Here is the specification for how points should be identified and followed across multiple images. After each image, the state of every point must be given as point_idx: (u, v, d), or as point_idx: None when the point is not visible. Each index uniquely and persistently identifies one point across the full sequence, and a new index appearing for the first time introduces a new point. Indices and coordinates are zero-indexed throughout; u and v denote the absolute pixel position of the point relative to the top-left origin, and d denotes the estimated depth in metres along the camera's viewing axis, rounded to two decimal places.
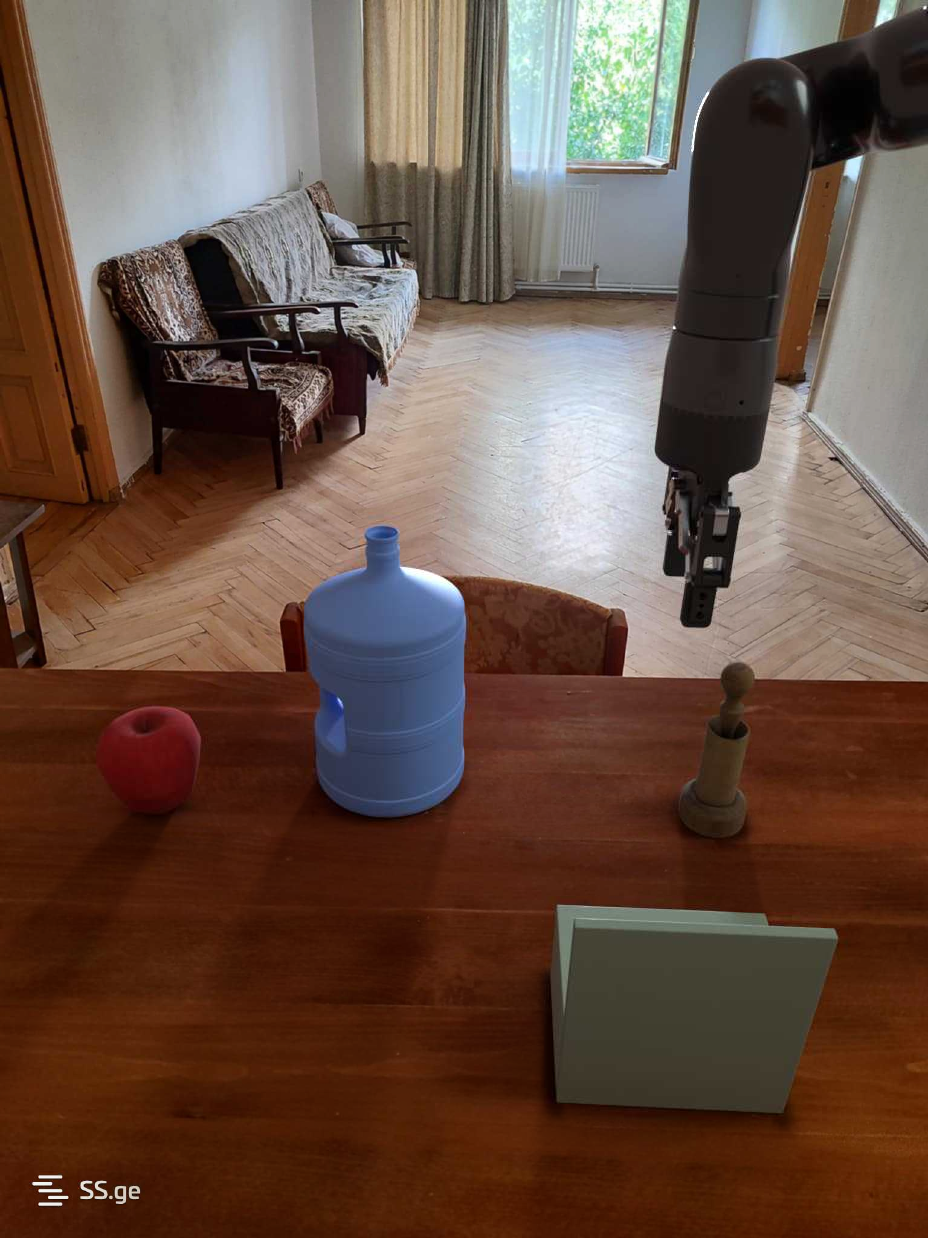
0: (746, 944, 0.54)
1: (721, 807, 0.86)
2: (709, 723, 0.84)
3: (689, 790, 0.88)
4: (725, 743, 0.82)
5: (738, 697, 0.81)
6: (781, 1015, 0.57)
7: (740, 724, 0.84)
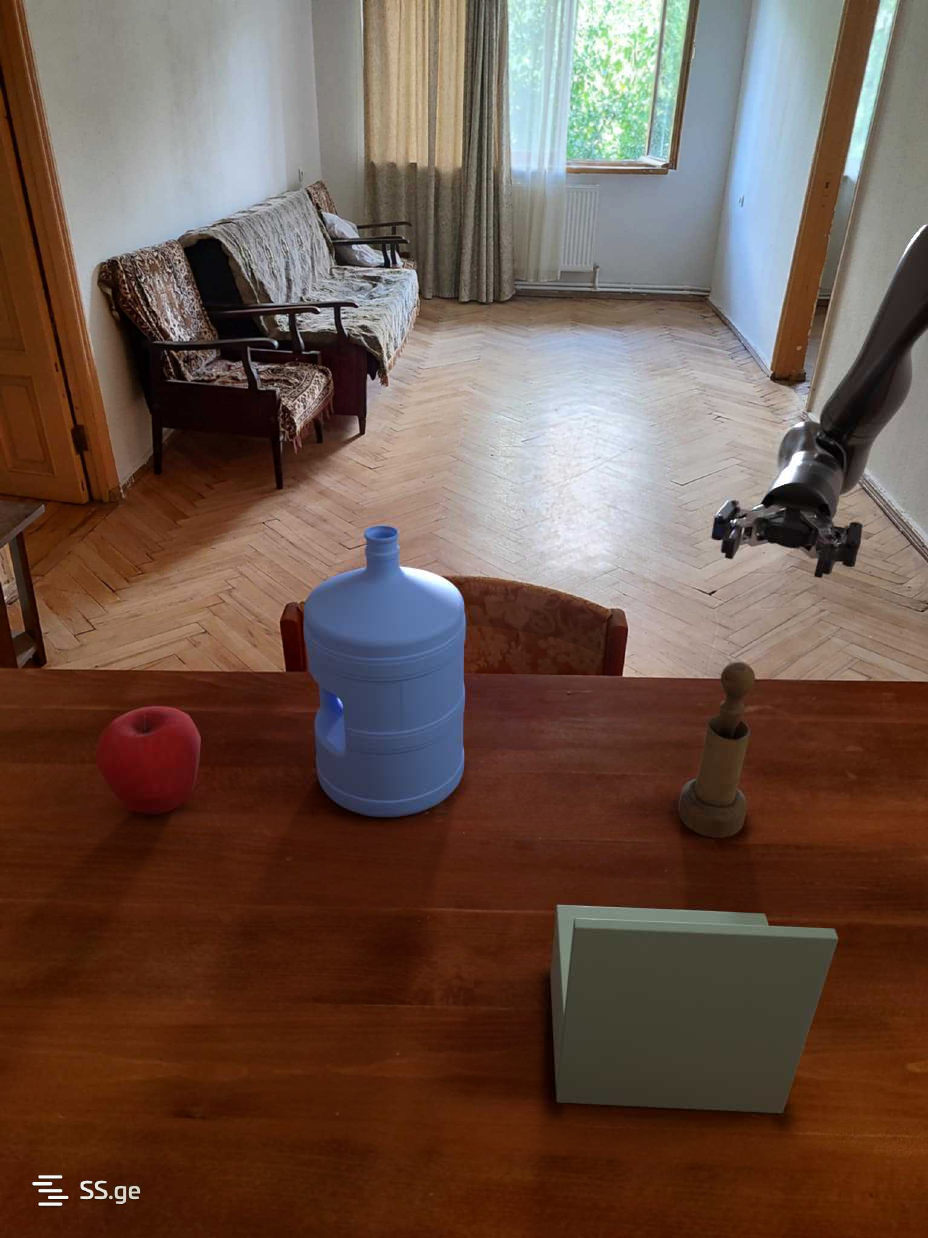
0: (746, 944, 0.54)
1: (722, 807, 0.86)
2: (709, 723, 0.84)
3: (689, 790, 0.88)
4: (725, 743, 0.82)
5: (738, 697, 0.81)
6: (781, 1015, 0.57)
7: (740, 724, 0.84)
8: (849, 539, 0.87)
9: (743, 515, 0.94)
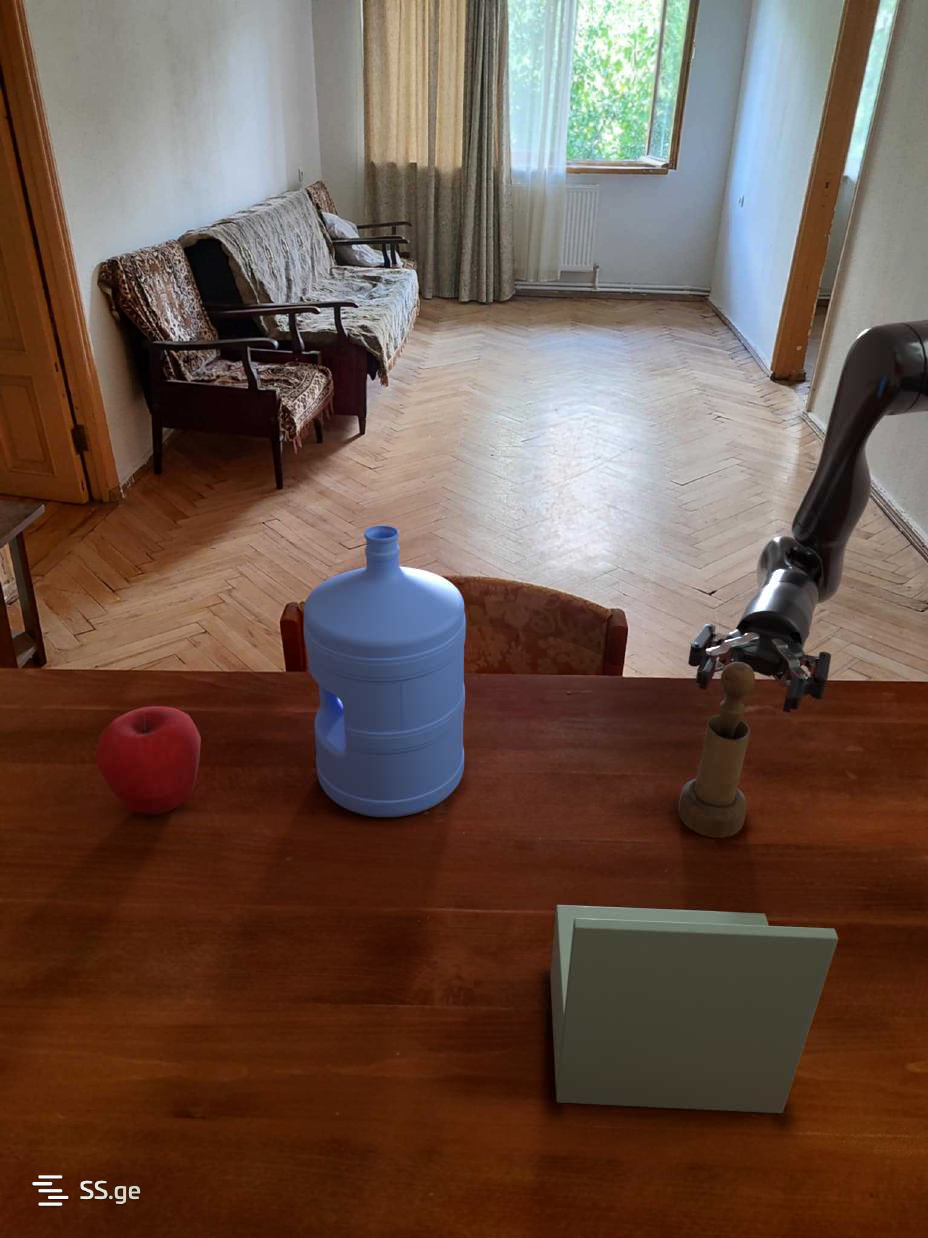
0: (746, 944, 0.54)
1: (722, 807, 0.86)
2: (709, 723, 0.84)
3: (689, 790, 0.88)
4: (725, 743, 0.82)
5: (738, 697, 0.81)
6: (781, 1015, 0.57)
7: (740, 724, 0.84)
8: (817, 673, 0.92)
9: (719, 640, 0.99)
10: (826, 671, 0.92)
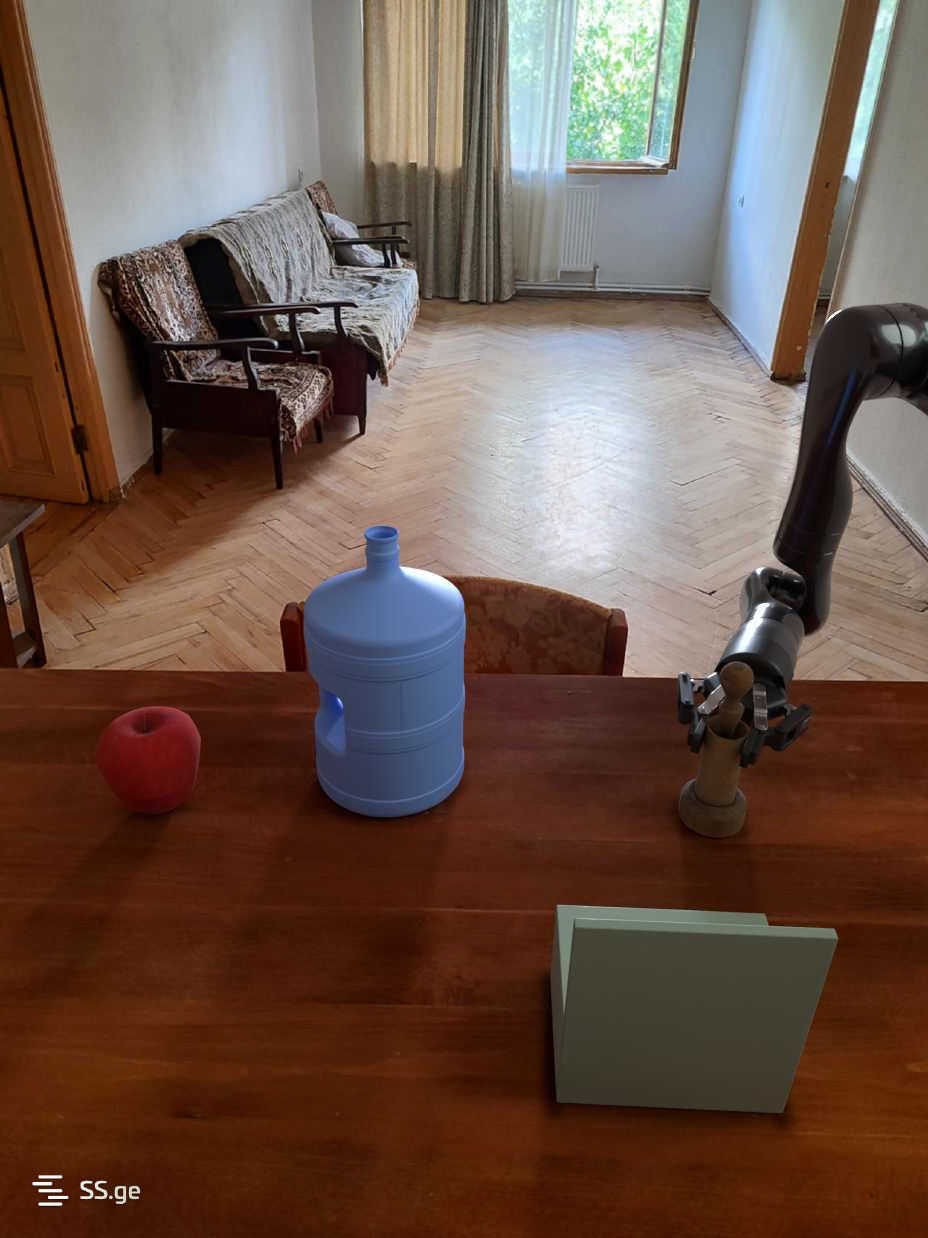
0: (746, 944, 0.54)
1: (721, 807, 0.86)
2: (708, 723, 0.84)
3: (689, 790, 0.88)
4: (724, 743, 0.82)
5: (737, 697, 0.81)
6: (781, 1015, 0.57)
7: (739, 724, 0.84)
8: (780, 723, 0.84)
9: (698, 688, 0.91)
10: (792, 724, 0.84)
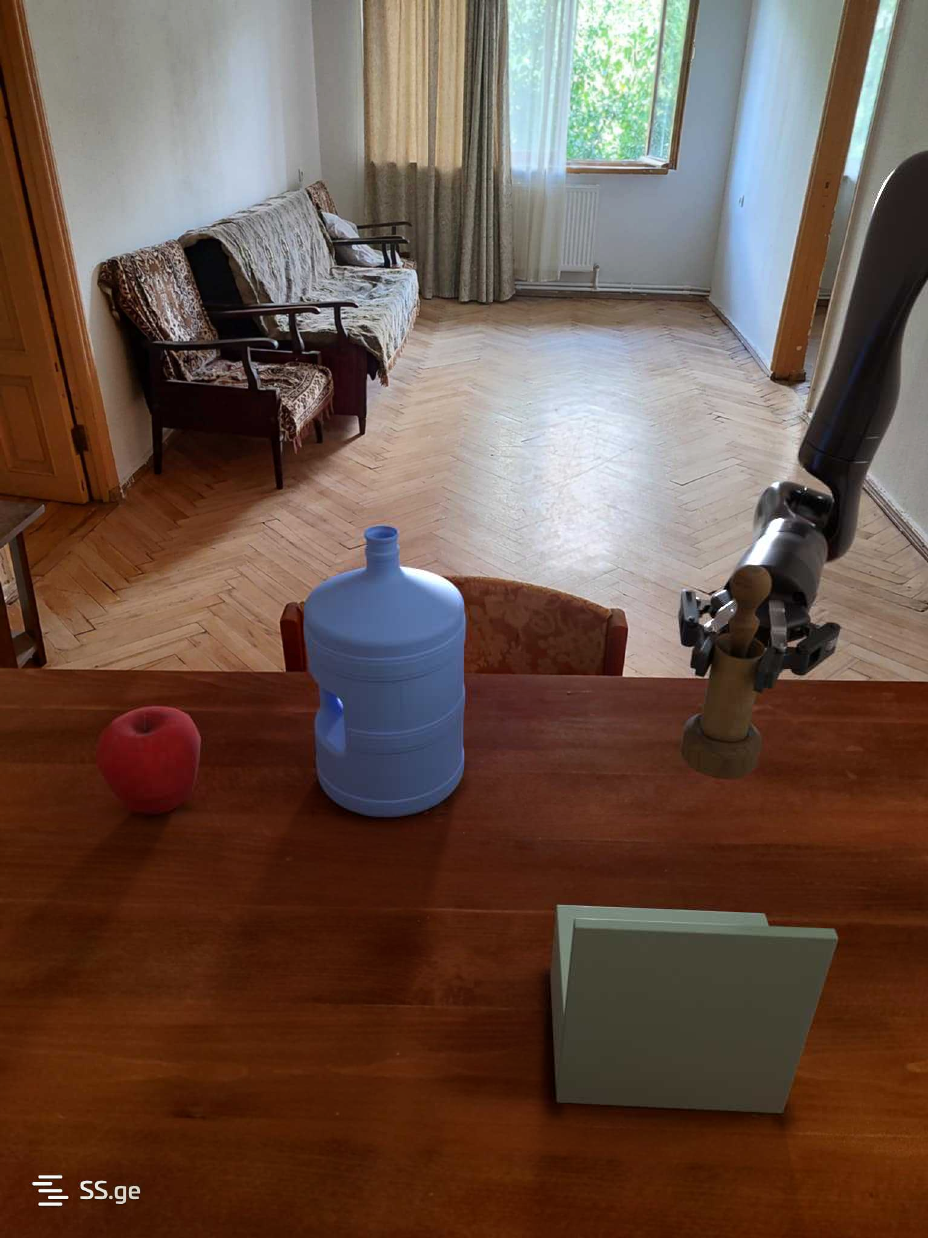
0: (746, 944, 0.54)
1: (732, 743, 0.73)
2: (717, 641, 0.71)
3: (693, 724, 0.75)
4: (736, 663, 0.69)
5: (751, 606, 0.67)
6: (781, 1015, 0.57)
7: (754, 643, 0.71)
8: (802, 641, 0.71)
9: (704, 608, 0.77)
10: (816, 642, 0.71)
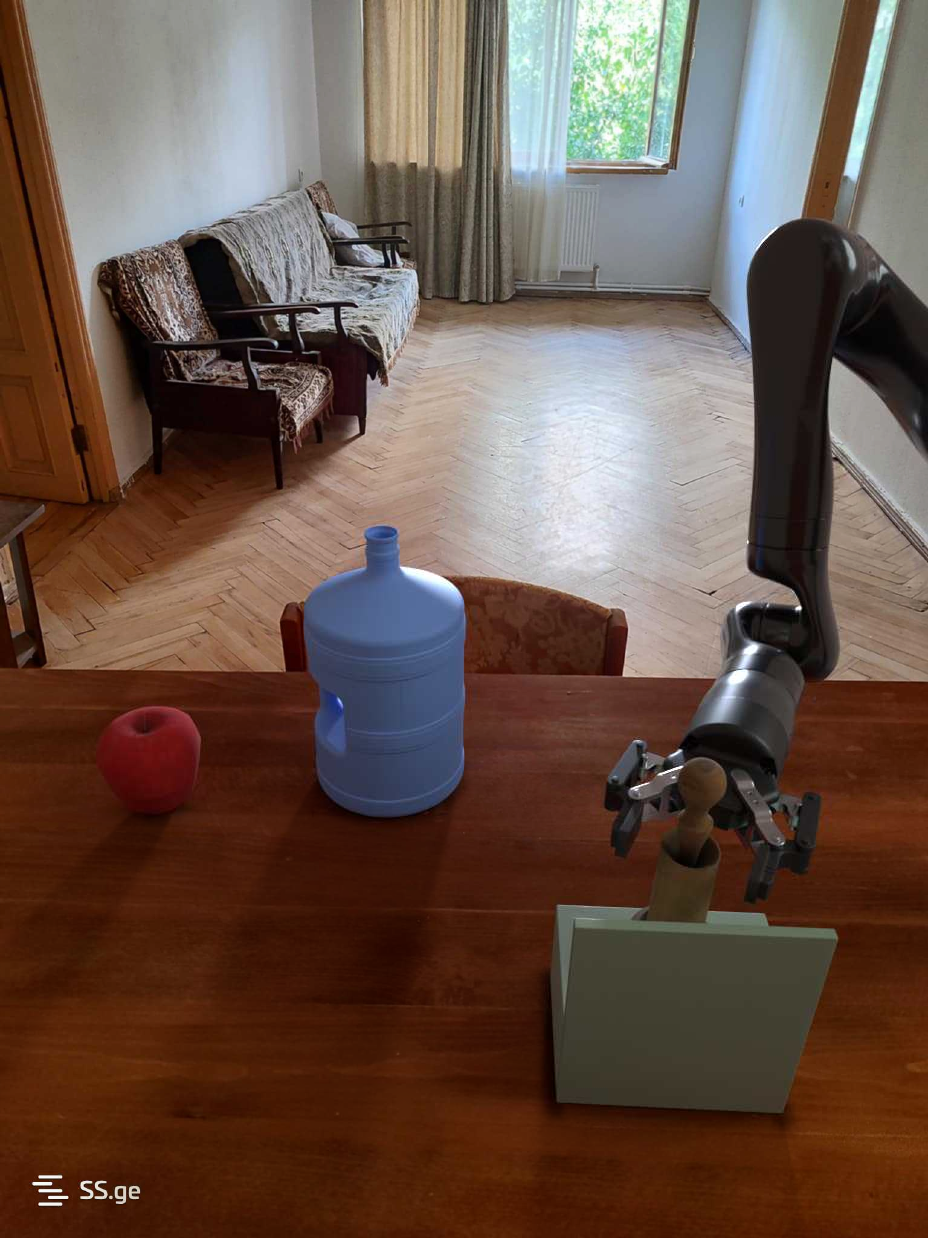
0: (746, 944, 0.54)
1: None
2: (663, 840, 0.59)
3: None
4: (685, 873, 0.57)
5: (703, 809, 0.56)
6: (781, 1015, 0.57)
7: (708, 841, 0.59)
8: (799, 834, 0.58)
9: (653, 767, 0.66)
10: (813, 831, 0.58)
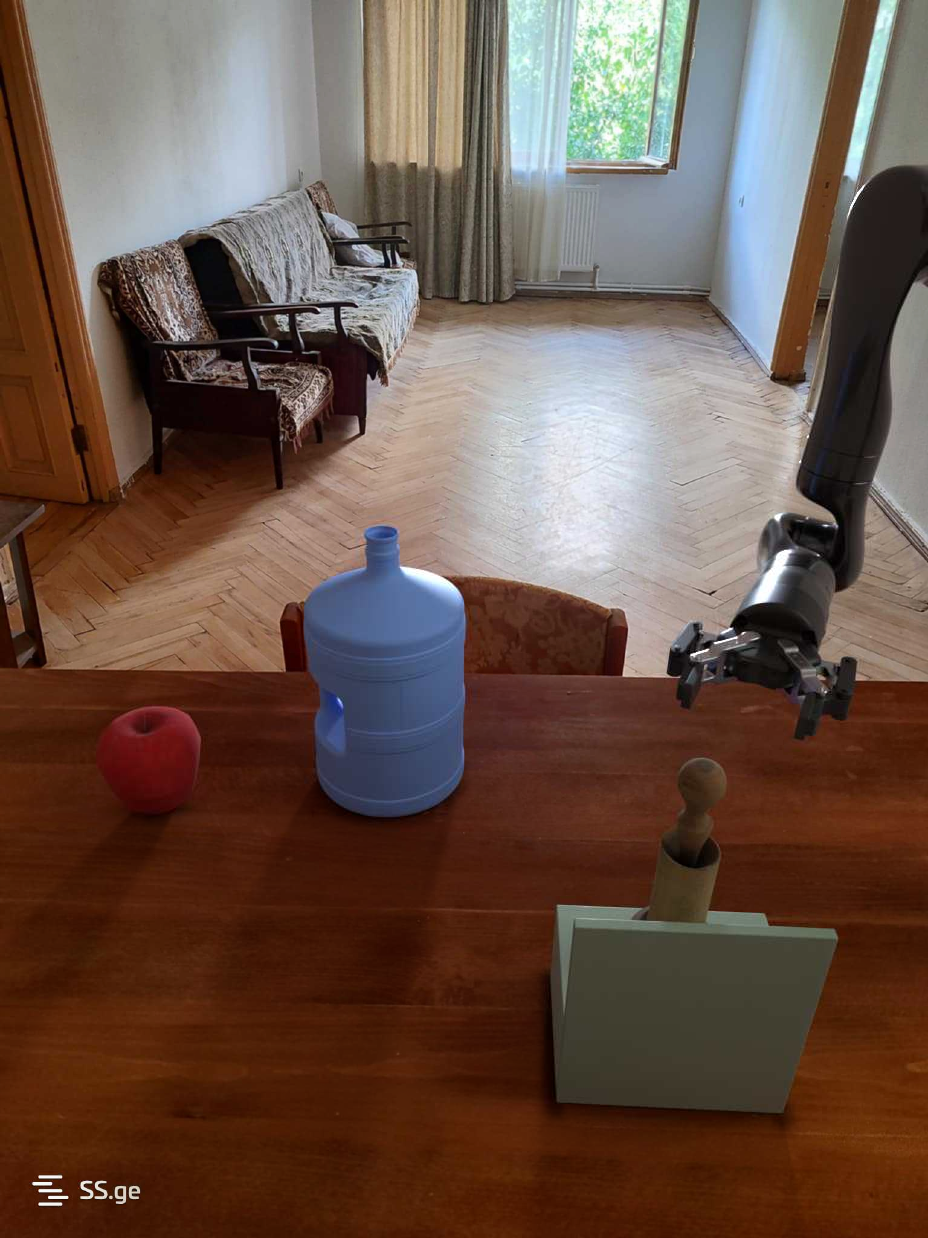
0: (746, 944, 0.54)
1: None
2: (663, 840, 0.59)
3: None
4: (684, 873, 0.57)
5: (702, 810, 0.56)
6: (781, 1015, 0.57)
7: (708, 841, 0.59)
8: (840, 685, 0.68)
9: (708, 642, 0.75)
10: (852, 683, 0.68)
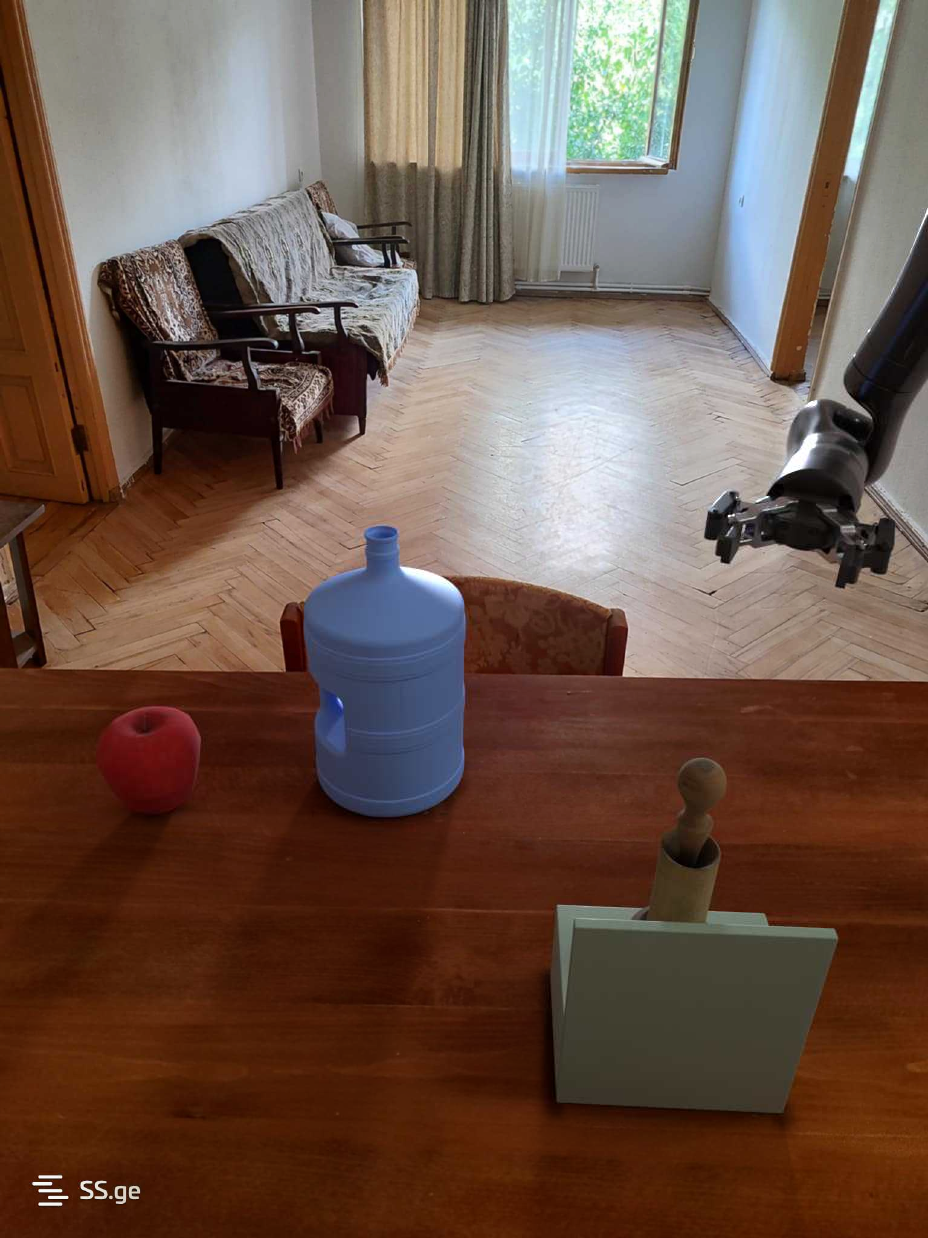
0: (746, 944, 0.54)
1: None
2: (663, 840, 0.59)
3: None
4: (684, 873, 0.57)
5: (702, 810, 0.56)
6: (781, 1015, 0.57)
7: (708, 842, 0.59)
8: (879, 539, 0.68)
9: (744, 510, 0.75)
10: (891, 537, 0.68)
